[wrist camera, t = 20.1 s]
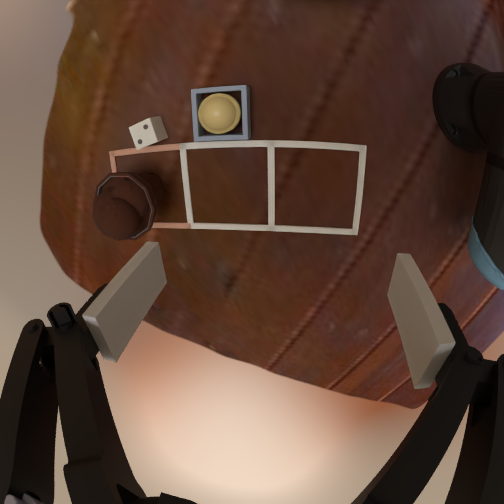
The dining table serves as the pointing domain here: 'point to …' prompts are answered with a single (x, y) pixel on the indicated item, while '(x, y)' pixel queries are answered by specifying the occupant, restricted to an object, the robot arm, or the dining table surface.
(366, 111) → the dining table surface
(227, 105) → the dome
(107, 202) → the ice cream bowl
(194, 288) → the dining table surface
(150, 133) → the die
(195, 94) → the base
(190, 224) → the track
